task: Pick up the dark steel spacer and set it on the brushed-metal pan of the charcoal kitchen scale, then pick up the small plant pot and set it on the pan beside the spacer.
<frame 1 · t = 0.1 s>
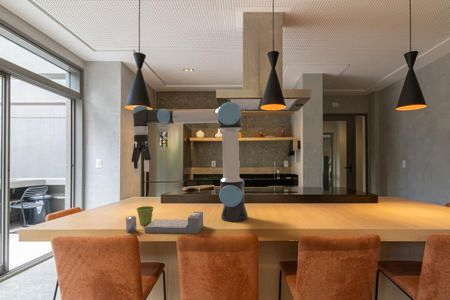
hand: (141, 173, 171), 28 cm above the counter, fingers open, 13 cm apart
pan: (170, 223, 160), point 3 cm above the counter, slide at -0.8 cm
spacer: (131, 231, 159), on the counter
plant pot: (145, 223, 172), on the counter
scale: (175, 229, 160), on the counter
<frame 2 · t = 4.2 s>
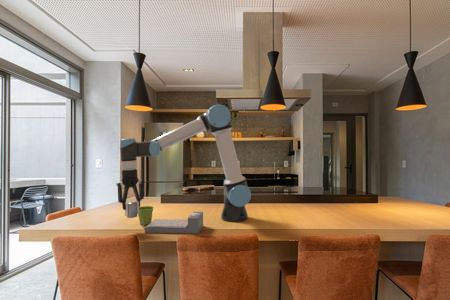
hand: (132, 214, 158), 8 cm above the counter, fingers closed on spacer, 5 cm apart
spacer: (132, 216, 158), point 7 cm above the counter, touching gripper
everything else where it was.
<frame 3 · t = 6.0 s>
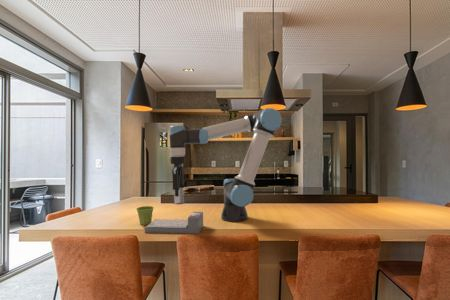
hand: (179, 201, 159), 14 cm above the counter, fingers closed on spacer, 5 cm apart
spacer: (179, 203, 159), point 13 cm above the counter, touching gripper
everything else where it was.
when the fingers open (5 cm above the counter, at t = 8.0 s): spacer stays where it is, resting on pan.
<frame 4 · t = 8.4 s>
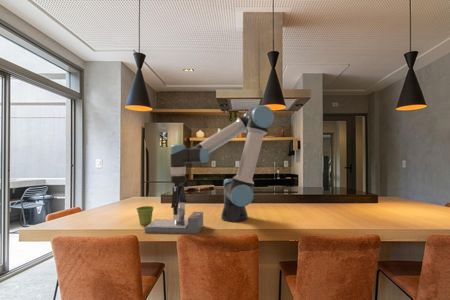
hand: (179, 217, 160), 6 cm above the counter, fingers open, 11 cm apart
pan: (170, 223, 160), point 3 cm above the counter, slide at -0.9 cm, touching spacer
spacer: (179, 222, 160), point 3 cm above the counter, touching pan
everything else where it was.
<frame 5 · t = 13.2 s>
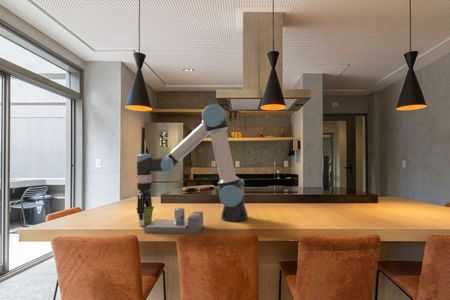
hand: (145, 223, 172), 0 cm above the counter, fingers closed on plant pot, 8 cm apart
plant pot: (145, 223, 172), on the counter, touching gripper
everything else where it was.
when the fingers open (6 cm above the counter, at t = 18.0 s): plant pot drops 1 cm, resting on pan.
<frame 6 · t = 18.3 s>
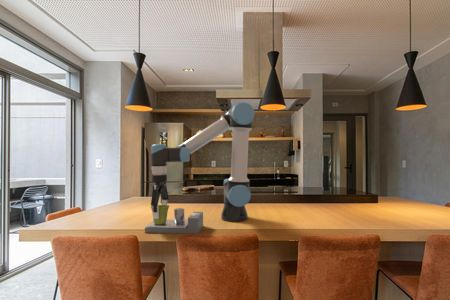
hand: (160, 215, 161), 7 cm above the counter, fingers open, 13 cm apart
pan: (170, 223, 160), point 3 cm above the counter, slide at -0.9 cm, touching plant pot, spacer
plant pot: (159, 223, 159), point 3 cm above the counter, touching pan
everything else where it was.
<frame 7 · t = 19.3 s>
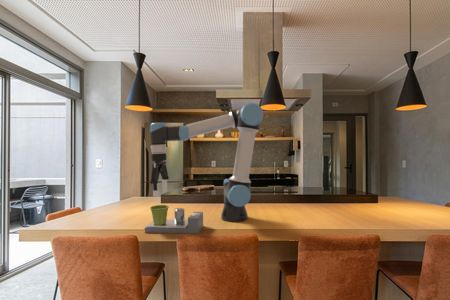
hand: (160, 194, 161), 18 cm above the counter, fingers open, 13 cm apart
nothing on the counter moved.
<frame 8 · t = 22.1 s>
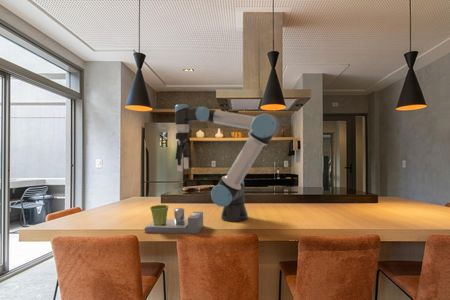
hand: (183, 170, 176), 29 cm above the counter, fingers open, 13 cm apart
nothing on the counter moved.
at the end: plant pot inside the target area on the pan (5.2 cm from its centre), point 4.0 cm above the pan's base; spacer inside the target area on the pan (5.0 cm from its centre), point 4.2 cm above the pan's base; plant pot tilted 0° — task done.
